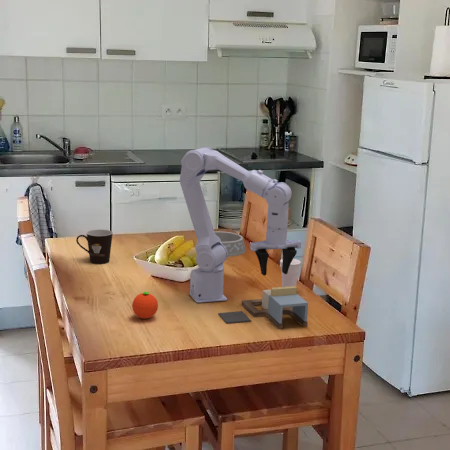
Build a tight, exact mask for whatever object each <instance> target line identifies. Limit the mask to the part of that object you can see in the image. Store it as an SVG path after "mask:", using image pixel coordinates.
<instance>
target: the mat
mask: <svg viewBox="0 0 450 450" xmlns="http://www.w3.org/2000/svg"><path fill="white" fill-rule="evenodd" d="M218 316H219V317H220V318H221V319H222V320H223V321H224V323H225V324H226V325H227V324H228V325H229V324H236V323H237V324H238V323H251V322H252V320H251V318H249V317H248V316H247V314H246V313H244V311H242V310H239V311H236V310H235V311H225V312H218Z"/></svg>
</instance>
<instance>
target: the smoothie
mask: <svg viewBox="0 0 450 450" xmlns="http://www.w3.org/2000/svg"><path fill="white" fill-rule="evenodd" d="M282 263H283V258H282V259H280V260H279V265H280V272H281V273H280V274H281V287H289V286H295V287H296V288H297V281H298V276H299V272H300V267H301V265H302V261H301V260H299V259H296V258H293V260H292V262H291V264H290V266H289V269H288V273H287V274H284V273H283V272H282Z"/></svg>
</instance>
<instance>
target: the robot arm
mask: <svg viewBox="0 0 450 450" xmlns="http://www.w3.org/2000/svg"><path fill="white" fill-rule="evenodd" d="M180 164H181V168H180V176H179V184H180V188H181V190H182V195H183V197H184V200H185V203H186V206H187V210H188V213H189V216H190V219H191V223H192V226H193V229H194V233H195V236H196V238H197V241H196V245H195V252H196V257H195V258H196V259H195V262H196V265H197V266H198V268H195V269H192V270H191V272H190V279H189V280H190V282H189V283H190V284H189V286H190V287H189V296H190V297H191V298H192V299H193V300H194V301H195V303H210V302H212V303H213V302H223V301H224V302H225V301H228V298H227V297H226V295H224V277H225V276H224V275H225V273H224V272H225V266H224V263H225V262H226V260H227V258H228V257H227V256H228V253H227V249H226V248H225V246H224V245H223V244H222V242H221V239H220V238H219V237H218V236H217V235H216V234H215V232H214V231H215V230H214V225H213V223H212V220H211V216H210V211H209V209H208V207H207V206H208V205H207V203H206V200H205V196H204V192H203V190H202V186H201V180H202V179H203V178H204V175H205V173H207V172H208V171H215V170H218V171H221V172H223V173H225V174H227V175H228V176H231V177H233V178H235V179H237V180H239V181H241V182H242V184H243V186H244V189H247V190H248V191H250V192H252V193H254V194H255V195H257V196H259V197H261V198H263V199H265V202H266V203H267V216H266V217H267V218H266V232H265V233H266V235H265V239H264V240H261V241H256V242H255V241H254V242H253V241H252V242H250V250H251V251H252V252H254V253H255V255H256V256H257V260H258V263H259V268H260V274H261V275H262V276H267V269H268V268H267V266H268V259H269V256H270V254H269V253H268V252H267V251H268V250H269V251H270V250H281V252H282V259H283V263H282V272H283V273H284V274H287V273H288V269H289V266H290V264H291V262H292V260H293V259H295V256H297V253H298V252H297V250H298V249H300V250H301V248H302V242H301V240H299V239H297V240H296V239H294V240H293V239H288V237H287V236H288V221H289V201H290V200H291V198H292V196H293V192H292V189H291V187H290V186H289V184H287V183H286V182H282V181H281V182H279V180H277V179H276V178H274V179H273V178H270V177H269V176H267V175H265V174H264V171H263V170H261V169H259V170H256V169H252V170H247V169H246V168H244V167H243V166H241V165H239V164H238V163H236V162H234V161H233V160H231V159H230V158H228V157H226V156H225V155H223V154H222V153H220V151H218V150H215V149H213V148H211V147H210V146H202V147H200V148H197V149H191V150H189V151H186V153H185V154H184V155H183V157H182V159H181V160H180ZM296 249H297V250H296Z"/></svg>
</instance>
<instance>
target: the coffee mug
mask: <svg viewBox="0 0 450 450" xmlns="http://www.w3.org/2000/svg"><path fill="white" fill-rule="evenodd" d="M113 233H114V232H113V231H111V230H109V229H91V230H88V231H86V235H84V234H79V235H78V236H77V237H76V241H75V242H76V244H77V245H78V246H79V247H80V248H81V249H83V250H84V251H85V252H86V253H87V254H89V255H88V256H89V262H90V263H91V264H92V265H93V264H94V265H104V264H108V263H110V259H111V252H112V251H111V249H112V242H113ZM81 237H82V238H85V239H86V242H87V247H88V249H87V248H86V247H84V246H83V245H82V244H81V243H80V242H79V238H81Z"/></svg>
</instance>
